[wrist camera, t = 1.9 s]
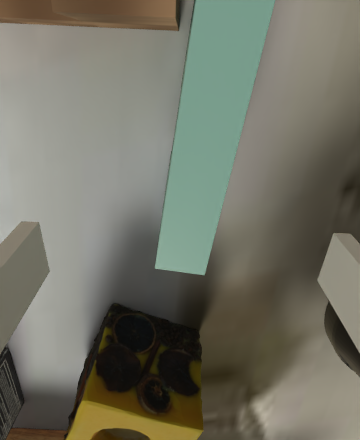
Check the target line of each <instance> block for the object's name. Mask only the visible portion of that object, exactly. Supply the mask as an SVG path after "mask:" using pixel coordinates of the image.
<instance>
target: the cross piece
mask: <svg viewBox="0 0 360 440" xmlns="http://www.w3.org/2000/svg"><path fill="white" fill-rule="evenodd" d="M274 3H275V0H194V6H193V12H192V19H191V25H190V32H189V39H188V45H187V52H186V59H185V65H184V72H183V78H182V85H181V95H180V102H179V108H178V115H177V121H176V128H175V135H174V141H173V148H172V151H171V158H170V164H169V171H168V178H167V184H166V191H165V198H164V204H163V211H162V219H161V226H160V233H159V241H158V248H157V256H156V263H155V269H162V270H169V271H177V272H184V273H191V274H199V275H205V272H206V268H207V264H208V260H209V256H210V252H211V248H212V244H213V241H214V237H215V233H216V229H217V225H218V221H219V217H220V213H221V209H222V206H223V202H224V198H225V194H226V190H227V186H228V182H229V178H230V174H231V171H232V167H233V163H234V159H235V155H236V151H237V147H238V143H239V139H240V136H241V132H242V128H243V124H244V120H245V116H246V112H247V108H248V104H249V100H250V97H251V93H252V89H253V85H254V81H255V77H256V73H257V69H258V65H259V62H260V58H261V54H262V50H263V46H264V42H265V38H266V34H267V30H268V27H269V23H270V19H271V15H272V11H273V7H274Z"/></svg>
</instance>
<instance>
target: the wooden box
mask: <svg viewBox="0 0 360 440" xmlns="http://www.w3.org/2000/svg"><path fill="white" fill-rule="evenodd" d="M66 432H67V431H64V430H46V429H27V428H11V430H10V432H9V434H8V436H7V438H6V440H63V439H64V435H65V434H66Z"/></svg>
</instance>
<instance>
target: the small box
mask: <svg viewBox="0 0 360 440" xmlns="http://www.w3.org/2000/svg"><path fill="white" fill-rule="evenodd" d="M23 404H24V398H23V395H22V392H21V389H20V385H19V382H18V379H17V375H16V372H15V369H14V366H13V362H12V359H11V356H10V353H9V350H8V349H5V348H4V349H3V351H2V352H1V354H0V440H6V438H7V436H8V434H9V432H10V430H11V428H12V426H13V423H14V421H15V419H16V417H17V415H18V413H19V411H20V409H21V407H22V406H23Z"/></svg>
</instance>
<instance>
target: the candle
mask: <svg viewBox="0 0 360 440" xmlns="http://www.w3.org/2000/svg"><path fill="white" fill-rule="evenodd" d="M199 338H200V335H199V332H198V331H196V330H195V329H189V328H186V327H185V326H183V325H177V324H174V323H170V322H169V321H168V320H165V319H161V318H157V317H154V316H150V315H147V314H144V313H142V312H140V311H133V310H131V309H128V308H126V307H123V306H121V305H119V304H113V305H112V306H111V307H110V309H109V310H108V312H107V314H106V316H105V317H104V320H103V323H102V325H101V327H100V331H99V333H98V334H97V337H96V338H95V340H94V341H95V343H94V346H93V348H92V349H91V352H90V354H89V356H88V357H87V358H86V360H85V363H84V369H83V371H82V373H81V376H80V379H79V382H78V387H77V395H76V400H75V404H74V409H73V412H72V413H71V414H70V416H69V417H68V418H69V427H68V430H67V432H66V434H65V435H64V439H63V440H197V439H198V437H199V436H200V435H201V433H202V432H203V416H202V400H201V363H202V359H201V354H202V347H201V344H200V341H199Z"/></svg>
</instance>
